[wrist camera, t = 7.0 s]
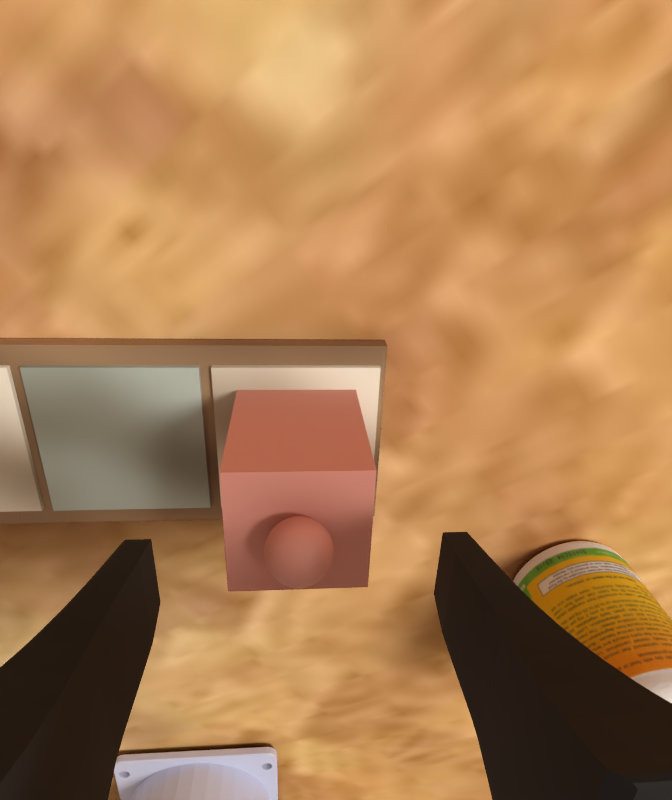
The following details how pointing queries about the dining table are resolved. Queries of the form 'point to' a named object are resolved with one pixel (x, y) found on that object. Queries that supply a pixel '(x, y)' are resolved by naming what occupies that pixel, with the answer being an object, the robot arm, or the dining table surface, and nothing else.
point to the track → (149, 419)
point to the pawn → (297, 491)
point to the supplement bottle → (604, 609)
